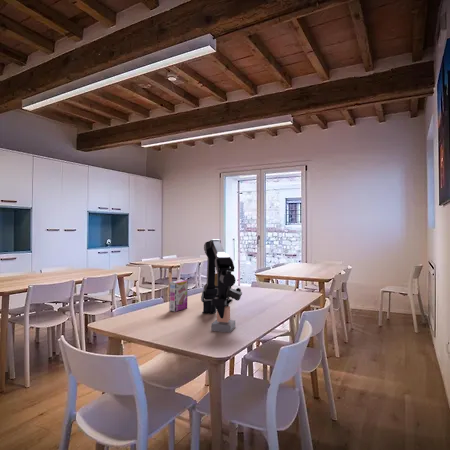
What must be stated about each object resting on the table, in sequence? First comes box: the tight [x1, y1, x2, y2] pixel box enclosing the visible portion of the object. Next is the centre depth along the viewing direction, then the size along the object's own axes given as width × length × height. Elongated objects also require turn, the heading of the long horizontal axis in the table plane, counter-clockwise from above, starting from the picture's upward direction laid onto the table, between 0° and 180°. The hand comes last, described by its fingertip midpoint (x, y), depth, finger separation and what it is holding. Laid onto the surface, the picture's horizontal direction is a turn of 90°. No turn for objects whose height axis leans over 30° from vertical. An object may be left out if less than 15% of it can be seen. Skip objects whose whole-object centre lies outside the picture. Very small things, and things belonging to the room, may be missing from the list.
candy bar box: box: [168, 279, 189, 313], centre depth 191 cm, size 11×5×16 cm, turn 149°
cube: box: [216, 305, 231, 322], centre depth 154 cm, size 5×5×6 cm
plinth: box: [210, 319, 236, 333], centre depth 154 cm, size 9×9×3 cm
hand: (223, 316), depth 154 cm, fingers closed on cube, 5 cm apart
